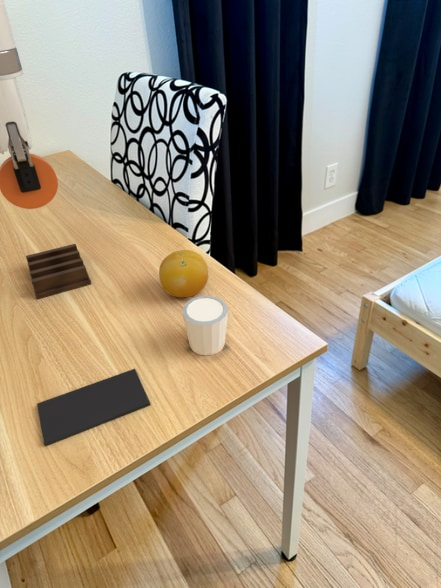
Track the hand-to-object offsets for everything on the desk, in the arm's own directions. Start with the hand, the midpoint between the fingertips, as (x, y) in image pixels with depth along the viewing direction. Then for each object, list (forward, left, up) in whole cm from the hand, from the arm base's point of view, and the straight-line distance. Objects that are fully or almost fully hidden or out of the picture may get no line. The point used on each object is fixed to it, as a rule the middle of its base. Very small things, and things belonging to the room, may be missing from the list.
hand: (30, 187), depth 72 cm
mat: (-1, -33, -19) cm, 38 cm away
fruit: (+20, -15, -19) cm, 32 cm away
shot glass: (+18, -29, -19) cm, 39 cm away
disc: (0, 0, -4) cm, 4 cm away
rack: (0, +1, -19) cm, 19 cm away
